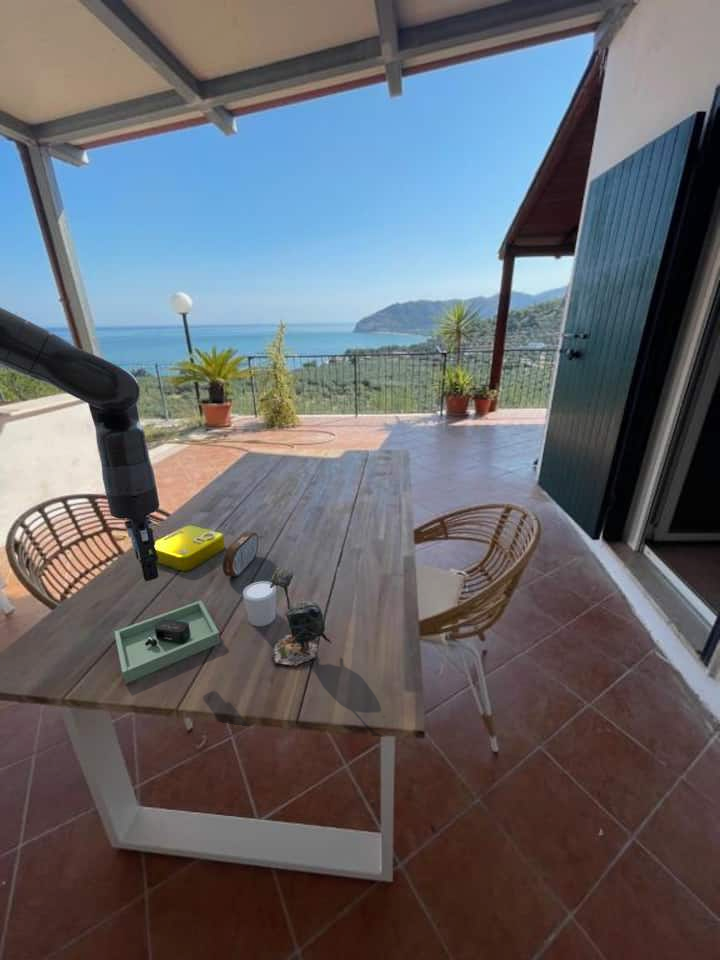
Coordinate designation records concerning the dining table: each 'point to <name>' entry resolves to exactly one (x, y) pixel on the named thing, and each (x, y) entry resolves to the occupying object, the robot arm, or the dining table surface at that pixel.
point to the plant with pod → (298, 626)
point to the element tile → (188, 547)
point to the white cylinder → (260, 603)
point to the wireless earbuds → (170, 632)
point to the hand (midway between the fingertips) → (147, 568)
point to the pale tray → (152, 658)
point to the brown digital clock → (240, 554)
